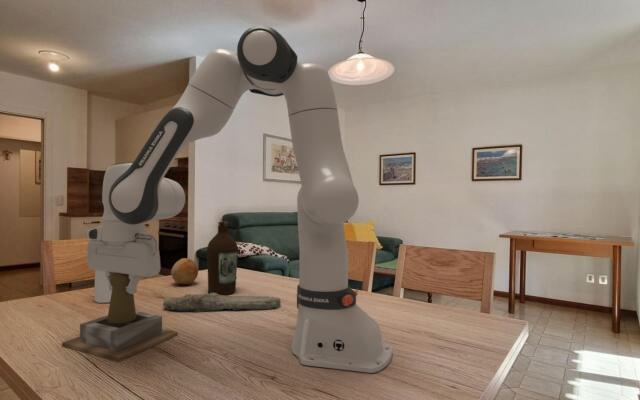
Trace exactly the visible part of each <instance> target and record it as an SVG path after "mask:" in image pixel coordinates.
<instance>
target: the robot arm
mask: <svg viewBox="0 0 640 400" xmlns="http://www.w3.org/2000/svg"><path fill="white" fill-rule="evenodd" d="M236 46H237V48H236V52H234V51H232V50H229V49H226V48H221V47H219V48H215V49H212V50H211V51H209V52H208V53H207V55H206V56H205V57H204V58H203V60H202V62H201V63H200V64H199V65H198V67H197V69H196V70H195V72H194V74H192V76H191V78H190V80H189V82H188V84H187V86H186V88H185V90H184V92H183V93H182V95H181V97H180V98H179V99H178V100H177V102H176V104H175V105H174V106H173V108H171V109H170V110H168V112H167V113H166V114H165V115H164V116H163V117H162V119H161V120H160V121H159V123H158V124H157V125H156V127H155V129H154V130H153V132H152V133H151V134H150V136H149V138H148V139H147V140H146V142H145V143H144V145H143V147H142V148H141V149H140V151H139V153H138V155H137V156H136V157H135V159H134V161H132V162H129V161H128V162H117V163H113V164H112V165H110V166H108V167H107V168H106V171H105V172H104V176H103V182H102V194H101V196H102V197H101V198H102V199H101V200H102V204H103V213H102V217H101V224H100V225H97V226H96V227H93V228H91V229H88V230H87V231H86V239H87V240H89V241H88V242H87V245H86V264H87V267H88V268H89V269H90V270H92V271H95V270H100V271H105V276H106V278H107V281H108V283H109V290H110V291H112V286H111V284H110V277H111V275H112V274H114V273H121V274H128V275H129V279H131V280H130V282H129V285H128V286H126V293H127V294H133V295H134V294H136V293H137V290H138V288H137V287H138V284H139V282H140V281H141V279H142V277H144V278H149V277H153V276H158V275H159V274H160V271H161V256H160V250H159V246H158V240H157V239H156V238H155V237H154V236H153V235H152V234H145V233H146V231H145V227H146V224H145V223H146V222H153V221H154V222H155V221H159V220H166V219H171V218H173V217H177V216H178V215H180V213H181V212H182V211H183V209H184V207H185V205H186V199H187V198H186V191H185V190H184V188H183V186H182V185H181V184H180V183H179V182H178V181H175V180H173V179H171V178H167V177H165V176H166V174H167V173H168V171H169V169H170V168H171V166H172V165H173V163H174V161H175V160H176V158H177V157H178V155H179V154H180V152H181V151H182V150H183V149H184V148H185V147H186V146H187V145H189V144H190V143H193V142H195V141H198V140H200V139H205V138H210V137H213V136H215V135H217V134H219V133H220V132H221V131H222V130H223V128H225V126H226V124H227V123H228V122H229V120H230V118H231V117H232V114H233V113H234V110H235V109H236V106H237V104H238V103H239V100H240V99H241V98H242V96H243V95H244V93H246V92H247V91H249V92H250V93H251V94H257V95H262V96H266V97H273V98H274V97H275V98H276V97H277V98H278V97H282V96H284V98H285V103H286V106H287V108H286V109H287V115H288V122H289V128H290V129H289V130H290V135H291V136H290V137H291V143H292V151H293V154H294V158H295V162H296V166H297V171H298V174H299V179H300V184H301V187H300V188H299V190H298V193H297V197H296V198H297V199H296V200H297V201H296V202H297V203H296V204H297V205H296V206H297V207H296V208H297V229H298V231H297V232H298V246H299V267H298V268H299V269H298V271H299V272H298V273H299V274H298V275H299V276H298V277H299V278H298V279H299V280H298V281H299V283H298V285H297V286H296V287H297V290H296V308H297V315H296V316H297V317H296V324H295V328H294V330H295V331H294V334H293V338H292V342H291V345H290V350H291V352H292V354H294V355H295V356H296V357H297V358H298V360H299V363H300V364H301V365H304V366H309V367H317V368H327V369H335V370H344V371H351V372H352V371H353V372H360V373H369V374H371V373H372V374H373V373H378V372H380V371H381V370H384V369H385V368H386V367H387V366H388V365H389V364H390V362H391V360H392V358H393V349H392V347H391V345H390V344H389V343H388V342H384V341H383V338H382V332H381V328H380V325H379V324H378V322H377V321H376V320H375V319H374V318H373V317H371V316H370V315H369V314H368V313H367V312H366V311H364V309H362V308H361V307H360V306H359V305H358V304H357V296H358V295H359V293H358V291H359V290H358V289H355V290H354V289H352V288H351V287H350V285H349V248H348V246H347V241H346V240H347V239H346V232H345V223H346V222H348V221H349V220H350V219H352V217H353V216H354V215H355V214H356V213H357V210H358V207H359V202H360V201H359V200H360V199H359V193H358V191H357V189H356V187H355V185H354V182H353V178H352V174H351V171H350V167H349V163H348V160H347V157H346V154H345V150H344V145H343V141H342V133H341V126H340V120H339V113H338V106H337V105H338V104H337V101H336V100H337V99H336V96H335V95H336V94H335V90H334V88H333V84H332V81H331V77H330V74H329V72H328V71H327V69H326V68H325V67H324V66H322V65H321V64H318V63H315V62H303V63H302V62H299V61H298V55H297V53H296V52H295V50H294V49H293V48H292V47H291V46H290V44H289V43H288V41H287V40H286V39H285V37H284V35H282V34H281V33H280V32H279V31H278V30H276V29H274V28H273V27H271V26H268V25H263V24H262V25H261V24H258V25H254V26H251V27H249V28H248V29H246V30H244V32H243V33H242V35H241V36H240V37H239V41H238V43H237V45H236Z"/></svg>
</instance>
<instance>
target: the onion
mask: <svg viewBox="0 0 640 400" xmlns="http://www.w3.org/2000/svg"><path fill="white" fill-rule="evenodd" d="M170 273H171V274H170V275H171V277H172V279H173V281H174V283H176V284H177V285H185V286H188V285H190V284H191V283H193V282H195V281H196V279H197V277H198V275H199V268H198V265H197V263H196V262H195V261H194V260H192V259H190V258H186V257H184V258H180V259H179V260H177V261H176V262H175V263H174V265H173V266H172V267H171V272H170Z"/></svg>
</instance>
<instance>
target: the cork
mask: <svg viewBox="0 0 640 400" xmlns="http://www.w3.org/2000/svg"><path fill="white" fill-rule="evenodd" d="M130 280H131V279H129V275H128V274H121V273H114V274H112V275H111V277H110V284H111V286H112V293H111V299H110V302H109V307H108V313H107V315H108V318H107V322H109V323H125V322H130V321H132V320H134V319H136V311H137V310H136V304H135V297H134V296H135V295H134V294H127V293H126V286H128V285H129V282H130Z"/></svg>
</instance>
